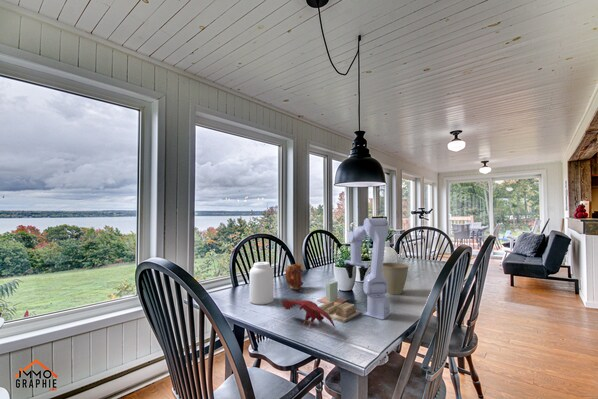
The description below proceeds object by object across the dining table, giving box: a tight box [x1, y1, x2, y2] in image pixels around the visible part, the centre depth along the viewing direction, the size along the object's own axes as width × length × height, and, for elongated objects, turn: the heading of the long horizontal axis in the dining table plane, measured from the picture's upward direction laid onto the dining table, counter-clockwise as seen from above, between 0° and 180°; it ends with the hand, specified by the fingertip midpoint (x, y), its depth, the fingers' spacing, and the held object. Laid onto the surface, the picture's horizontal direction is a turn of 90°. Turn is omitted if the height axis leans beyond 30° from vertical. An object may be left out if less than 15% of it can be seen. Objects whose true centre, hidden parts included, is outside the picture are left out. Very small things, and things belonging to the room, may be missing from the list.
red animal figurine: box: [282, 299, 336, 328], centre depth 123 cm, size 28×9×15 cm
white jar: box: [249, 261, 275, 305], centre depth 154 cm, size 12×12×20 cm
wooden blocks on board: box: [318, 301, 361, 323], centre depth 136 cm, size 16×14×3 cm
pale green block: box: [325, 280, 339, 302], centre depth 154 cm, size 2×7×9 cm, turn 139°
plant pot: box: [382, 262, 409, 296], centre depth 168 cm, size 15×15×16 cm
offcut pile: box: [336, 302, 357, 318], centre depth 133 cm, size 5×9×3 cm, turn 139°
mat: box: [316, 296, 348, 305], centre depth 154 cm, size 11×11×1 cm
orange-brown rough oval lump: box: [285, 263, 304, 290], centre depth 175 cm, size 15×8×15 cm, turn 149°
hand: (356, 279), depth 157 cm, fingers open, 7 cm apart
